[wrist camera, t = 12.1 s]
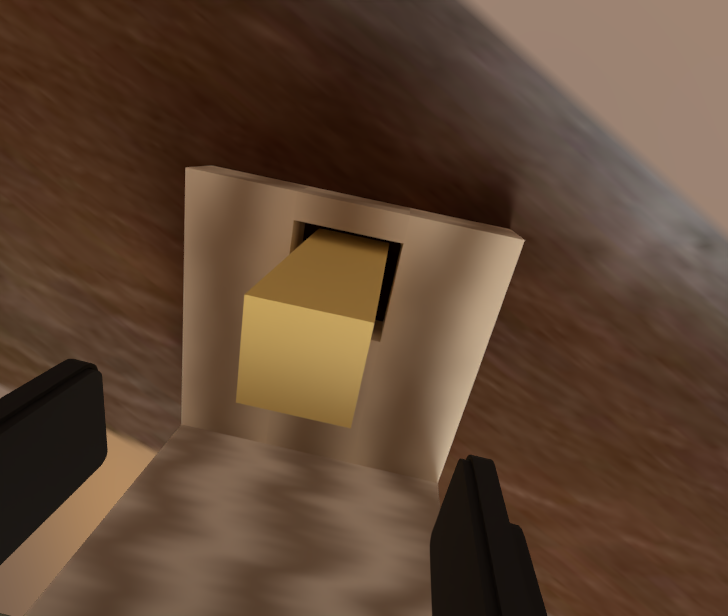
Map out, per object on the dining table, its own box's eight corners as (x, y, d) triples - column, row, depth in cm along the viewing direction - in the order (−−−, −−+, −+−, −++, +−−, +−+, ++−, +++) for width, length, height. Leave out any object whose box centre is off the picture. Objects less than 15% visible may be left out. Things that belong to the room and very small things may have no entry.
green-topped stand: (527, 233, 23) (922, 503, 5) (442, 469, 30) (492, 919, 12) (195, 161, 23) (-450, 196, 6) (189, 411, 30) (-108, 768, 13)
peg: (389, 243, 24) (374, 322, 13) (375, 308, 26) (351, 428, 15) (319, 228, 24) (244, 294, 13) (309, 293, 26) (235, 402, 15)
